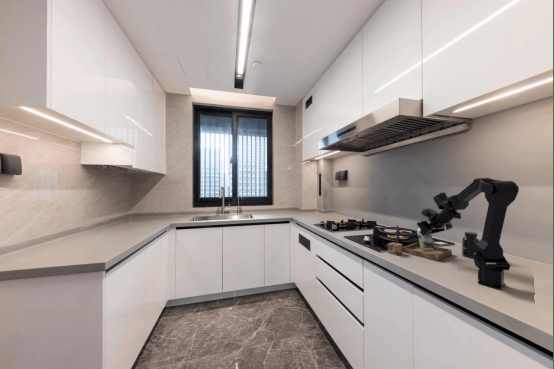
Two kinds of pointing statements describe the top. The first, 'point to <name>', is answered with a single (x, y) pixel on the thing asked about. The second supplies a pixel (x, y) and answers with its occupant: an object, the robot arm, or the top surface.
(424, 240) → the beverage can
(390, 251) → the letter block
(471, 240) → the supplement bottle
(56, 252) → the top surface
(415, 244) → the tray
